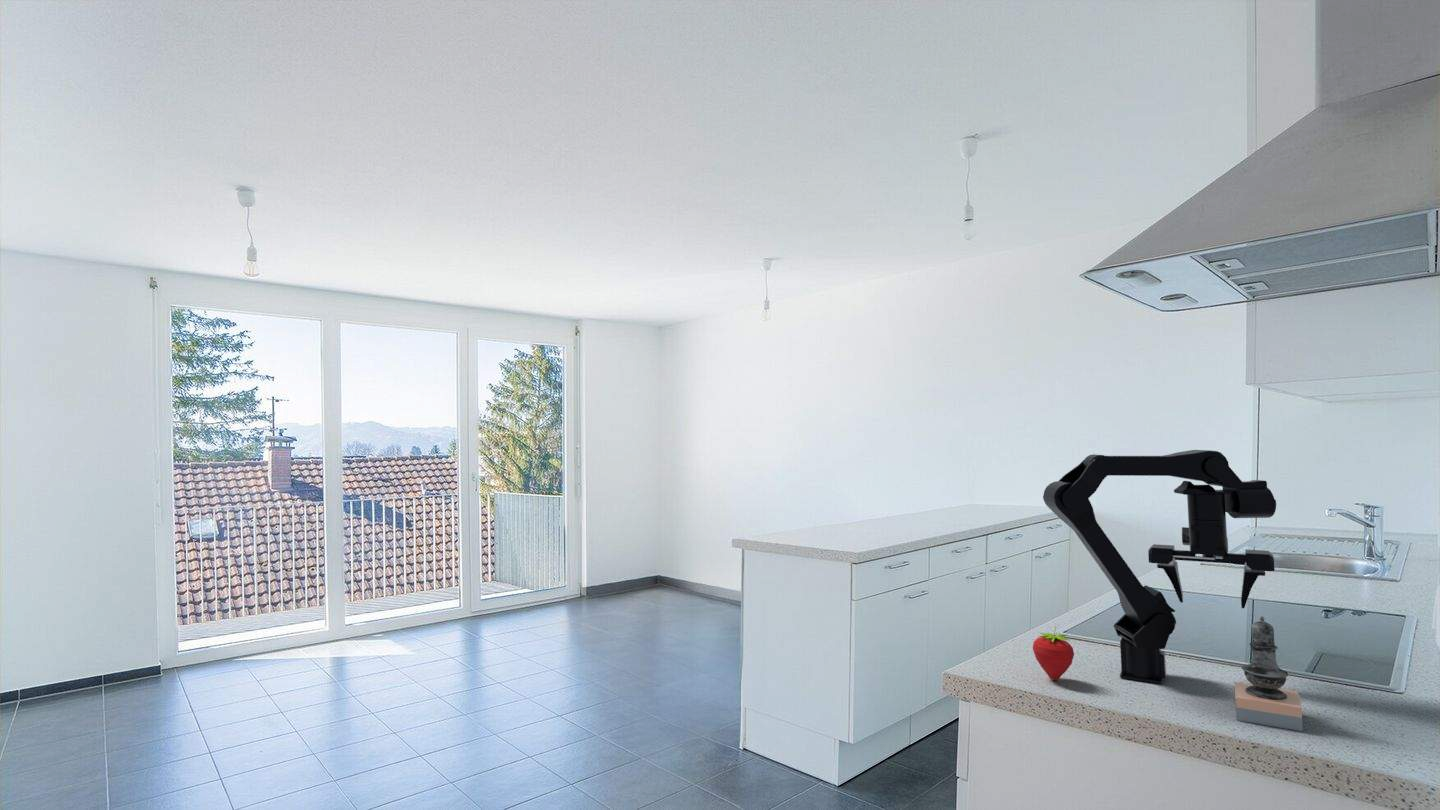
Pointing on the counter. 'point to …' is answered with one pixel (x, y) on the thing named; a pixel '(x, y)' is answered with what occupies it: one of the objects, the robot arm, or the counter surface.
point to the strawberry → (1053, 654)
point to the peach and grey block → (1269, 709)
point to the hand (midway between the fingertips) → (1211, 604)
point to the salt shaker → (1264, 664)
